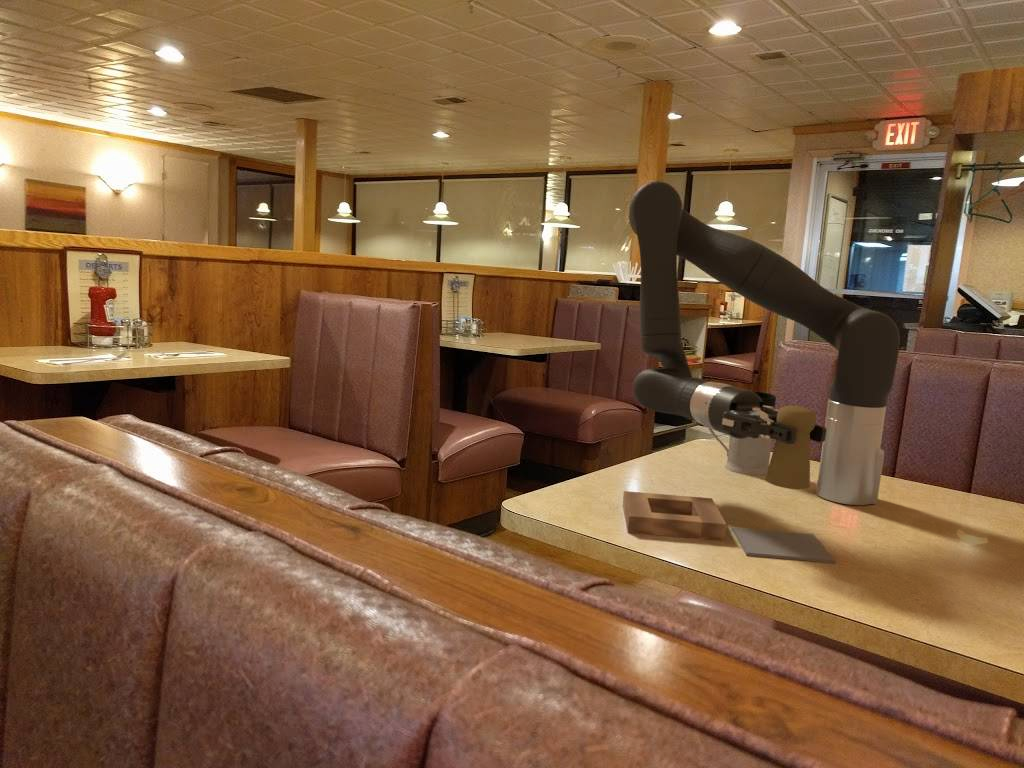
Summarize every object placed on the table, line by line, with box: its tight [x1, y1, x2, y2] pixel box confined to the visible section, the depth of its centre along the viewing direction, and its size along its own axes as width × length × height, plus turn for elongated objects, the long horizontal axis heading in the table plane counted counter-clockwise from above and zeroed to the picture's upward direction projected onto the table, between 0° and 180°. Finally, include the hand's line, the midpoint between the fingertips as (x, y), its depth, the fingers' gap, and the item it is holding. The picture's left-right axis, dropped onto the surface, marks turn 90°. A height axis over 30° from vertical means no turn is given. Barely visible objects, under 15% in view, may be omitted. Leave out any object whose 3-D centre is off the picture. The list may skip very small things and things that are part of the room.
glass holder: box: [708, 390, 777, 476], centre depth 150 cm, size 9×14×15 cm, turn 57°
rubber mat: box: [731, 526, 837, 564], centre depth 109 cm, size 12×10×1 cm
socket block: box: [622, 490, 727, 542], centre depth 116 cm, size 14×12×2 cm
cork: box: [765, 405, 817, 490], centre depth 106 cm, size 6×6×11 cm
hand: (808, 435), depth 104 cm, fingers closed on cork, 5 cm apart
